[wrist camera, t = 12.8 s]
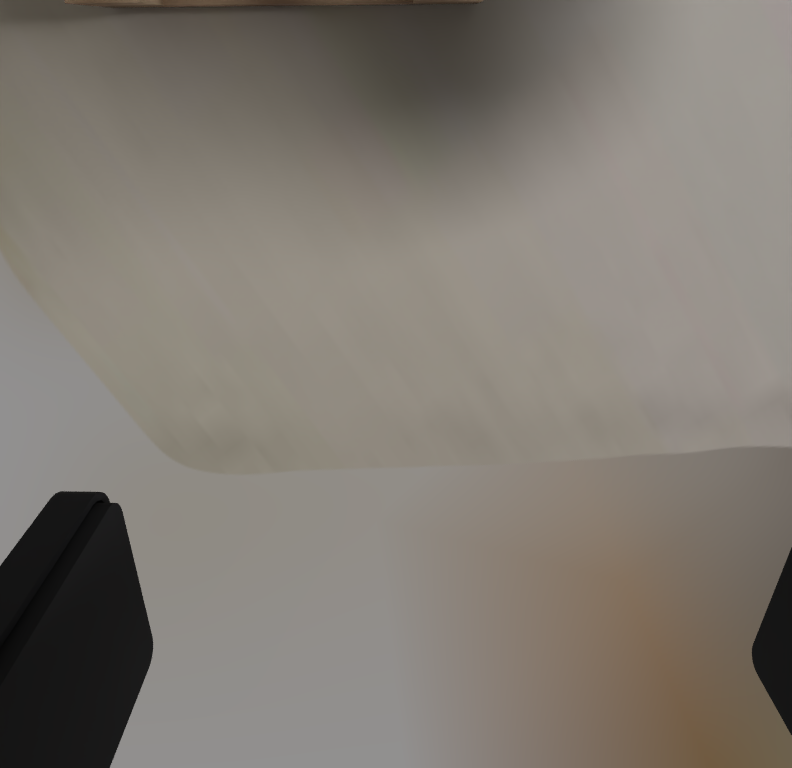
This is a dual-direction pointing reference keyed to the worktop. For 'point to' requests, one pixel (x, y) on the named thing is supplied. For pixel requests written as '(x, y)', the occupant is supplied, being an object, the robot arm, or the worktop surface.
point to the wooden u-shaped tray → (254, 2)
